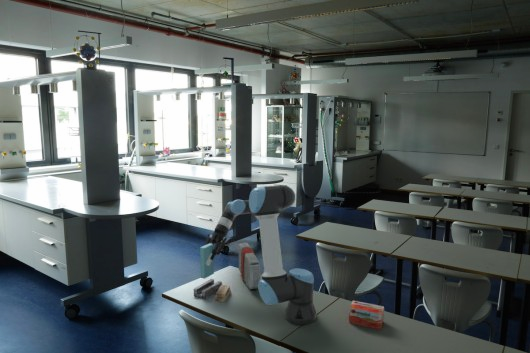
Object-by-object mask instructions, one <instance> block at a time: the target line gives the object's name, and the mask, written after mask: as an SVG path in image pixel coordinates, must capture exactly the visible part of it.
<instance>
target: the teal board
mask: <svg viewBox="0 0 530 353" xmlns="http://www.w3.org/2000/svg"><path fill="white" fill-rule="evenodd" d="M204 245H205V244H204ZM204 245H203V246H200V248H199V250H200V251H199V253H200V260H199V261H200V262H199V263H200V278H201V279H207V278H209V277H210V276H212V275H214V274H215V267H214V264H215V262H214V260H215V258H214V259H213V260H212V261H211V263H210V265H209V266H207V265H206V262H207V260H208V258H209V256H210V254H211V253H212V252H213V249H214V246H213V244H211V243H209V244H207V245H205V246H204Z"/></svg>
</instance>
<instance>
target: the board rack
mask: <svg viewBox="0 0 530 353" xmlns="http://www.w3.org/2000/svg"><path fill="white" fill-rule="evenodd" d="M221 285H223V281H221V280H219V281H216V282H215V279H213V278H210V279H209V280H207V281H204V282H203V283H201V284H200V285H198V286H196V287H194V288H193V296H194V297H197V298H200V299H204V300H206V299H207V298H209V297H211V296H213V295H214V294H216V293H217V291H218V290H219V288H220V287H221Z"/></svg>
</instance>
